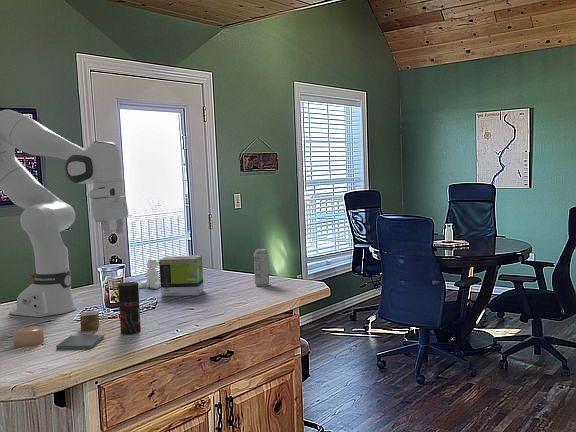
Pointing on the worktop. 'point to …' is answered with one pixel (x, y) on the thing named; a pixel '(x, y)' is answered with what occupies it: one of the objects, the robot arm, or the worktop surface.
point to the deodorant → (129, 308)
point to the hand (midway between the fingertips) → (114, 234)
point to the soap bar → (28, 336)
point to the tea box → (181, 275)
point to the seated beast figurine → (151, 276)
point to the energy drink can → (261, 267)
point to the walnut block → (89, 321)
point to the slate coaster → (80, 342)
